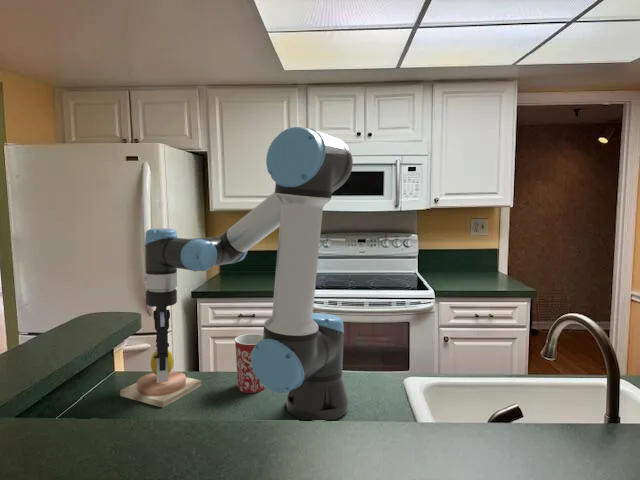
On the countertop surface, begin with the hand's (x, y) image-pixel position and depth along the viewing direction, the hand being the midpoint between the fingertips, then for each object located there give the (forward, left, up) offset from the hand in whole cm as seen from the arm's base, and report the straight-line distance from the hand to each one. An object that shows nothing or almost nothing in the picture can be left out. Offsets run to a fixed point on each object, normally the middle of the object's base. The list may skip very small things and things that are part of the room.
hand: (162, 376), depth 114 cm
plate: (0, 0, -4) cm, 4 cm away
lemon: (0, 0, -1) cm, 1 cm away
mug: (-20, -14, -4) cm, 25 cm away
